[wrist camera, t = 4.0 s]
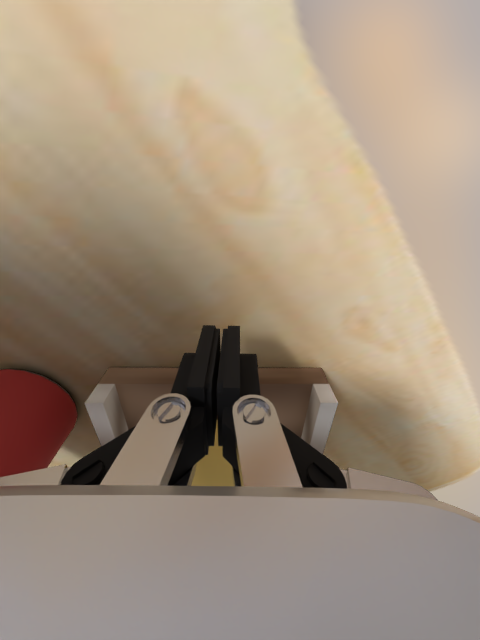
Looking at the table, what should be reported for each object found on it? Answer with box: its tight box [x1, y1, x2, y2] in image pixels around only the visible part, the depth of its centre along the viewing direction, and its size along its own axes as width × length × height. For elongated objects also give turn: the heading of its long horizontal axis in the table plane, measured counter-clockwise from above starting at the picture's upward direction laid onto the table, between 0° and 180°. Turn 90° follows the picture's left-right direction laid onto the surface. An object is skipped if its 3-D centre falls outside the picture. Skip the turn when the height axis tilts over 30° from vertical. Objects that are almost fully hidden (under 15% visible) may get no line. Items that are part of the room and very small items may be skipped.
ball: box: [191, 421, 234, 486], centre depth 15 cm, size 5×5×5 cm
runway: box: [84, 367, 338, 454], centre depth 19 cm, size 20×14×5 cm
